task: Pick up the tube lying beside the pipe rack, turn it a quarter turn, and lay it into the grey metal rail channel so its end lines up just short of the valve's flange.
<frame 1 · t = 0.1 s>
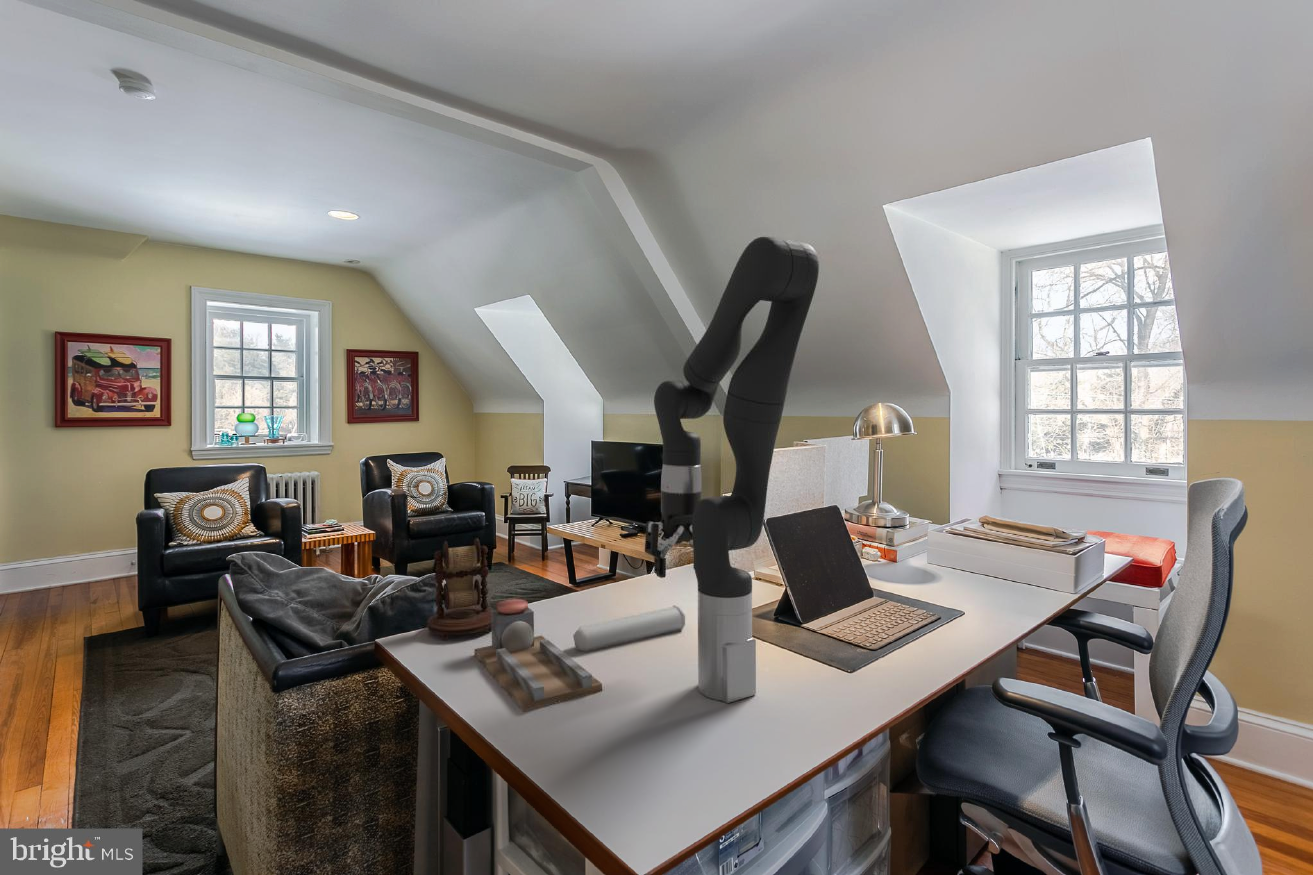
hand: (679, 573, 121), 17 cm above the table, tool pointing down, fingers open, 8 cm apart
pipe rack: (533, 671, 118), on the table
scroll: (463, 630, 141), on the table
tube: (629, 641, 135), on the table
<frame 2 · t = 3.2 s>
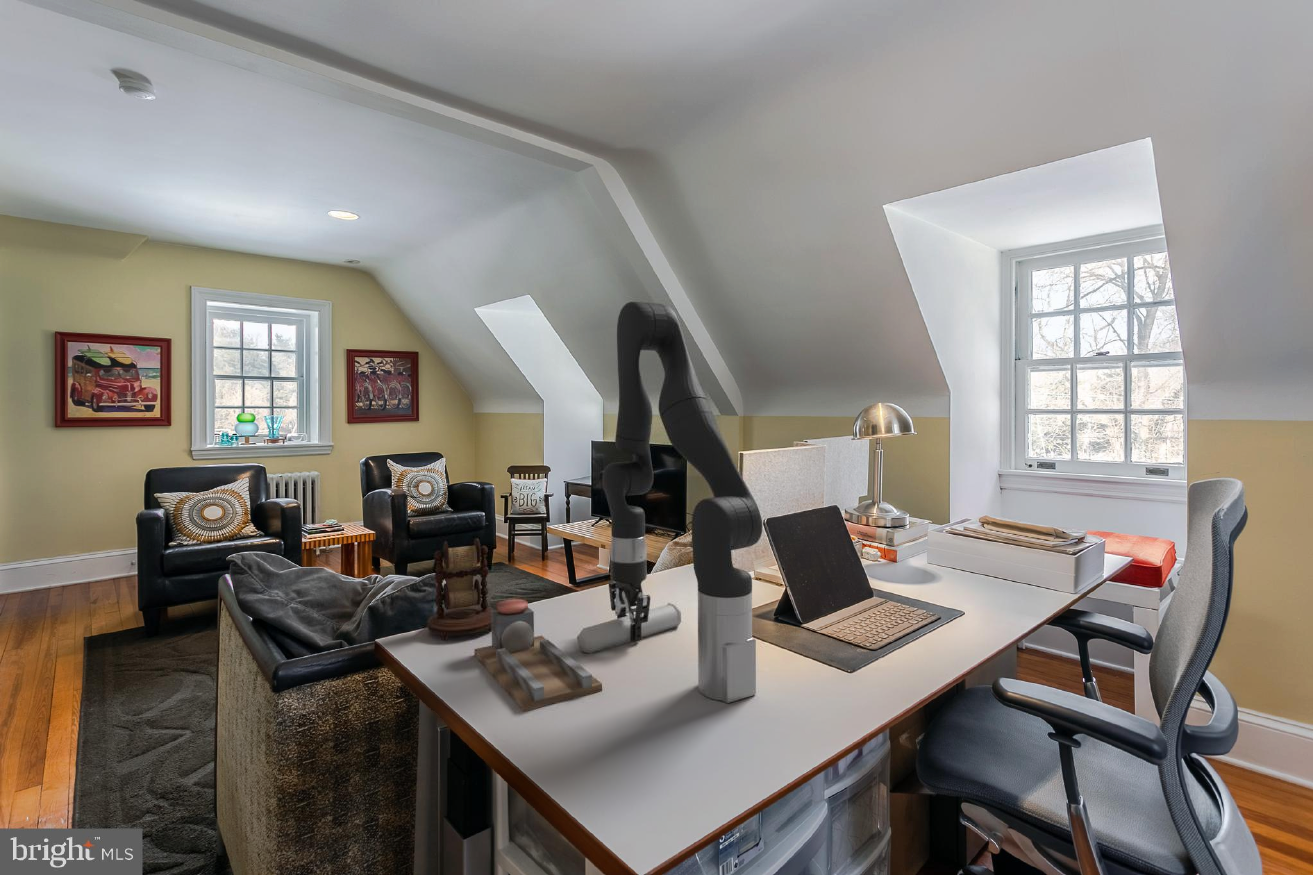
hand: (629, 636, 135), 0 cm above the table, tool pointing down, fingers closed on tube, 5 cm apart
tube: (629, 640, 135), on the table, touching gripper
everything else where it was.
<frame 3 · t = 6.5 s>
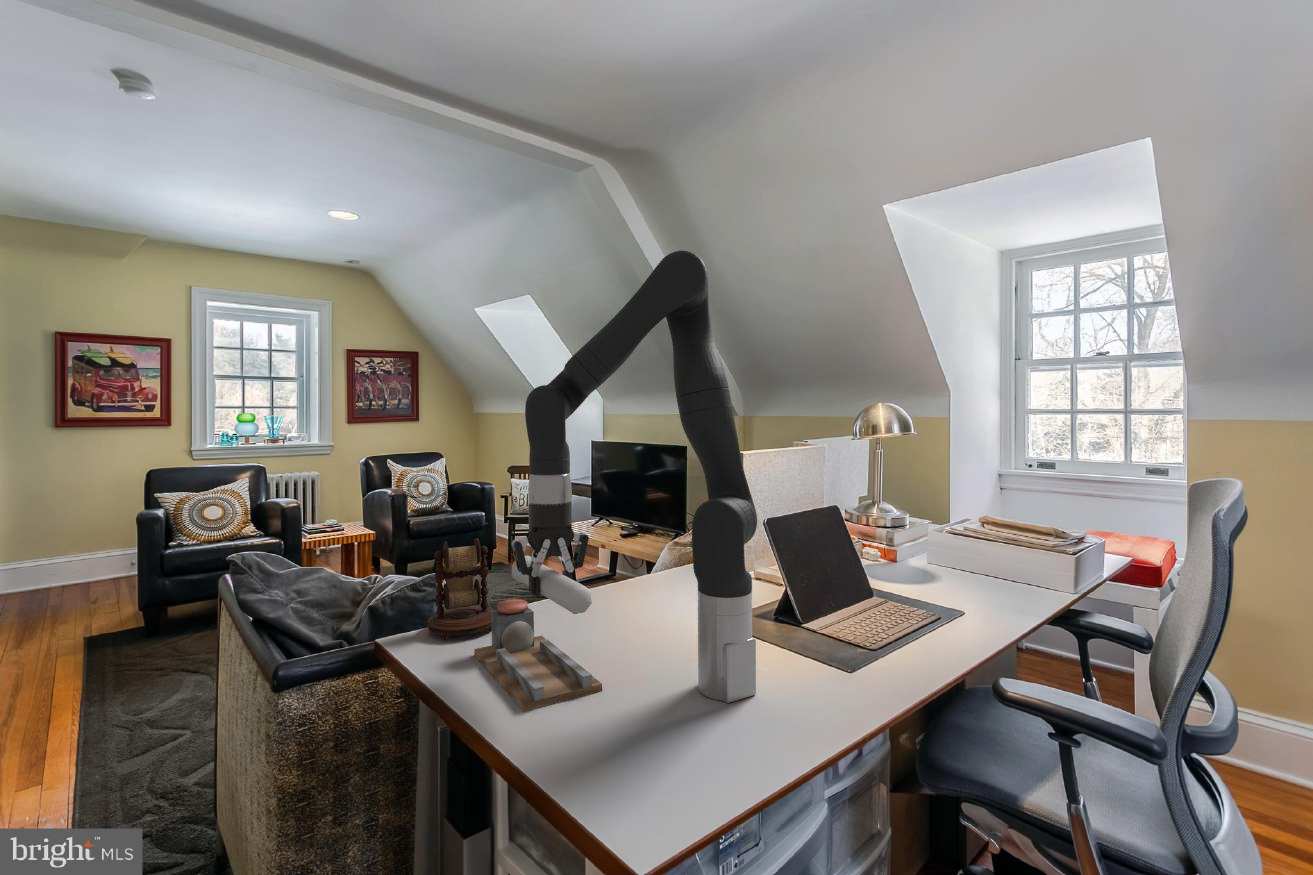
hand: (551, 593, 114), 16 cm above the table, tool pointing down, fingers closed on tube, 5 cm apart
tube: (551, 598, 114), point 15 cm above the table, touching gripper
everything else where it was.
when the fingers open (4 cm above the table, at t = 9.7 s): tube drops 2 cm, resting on pipe rack.
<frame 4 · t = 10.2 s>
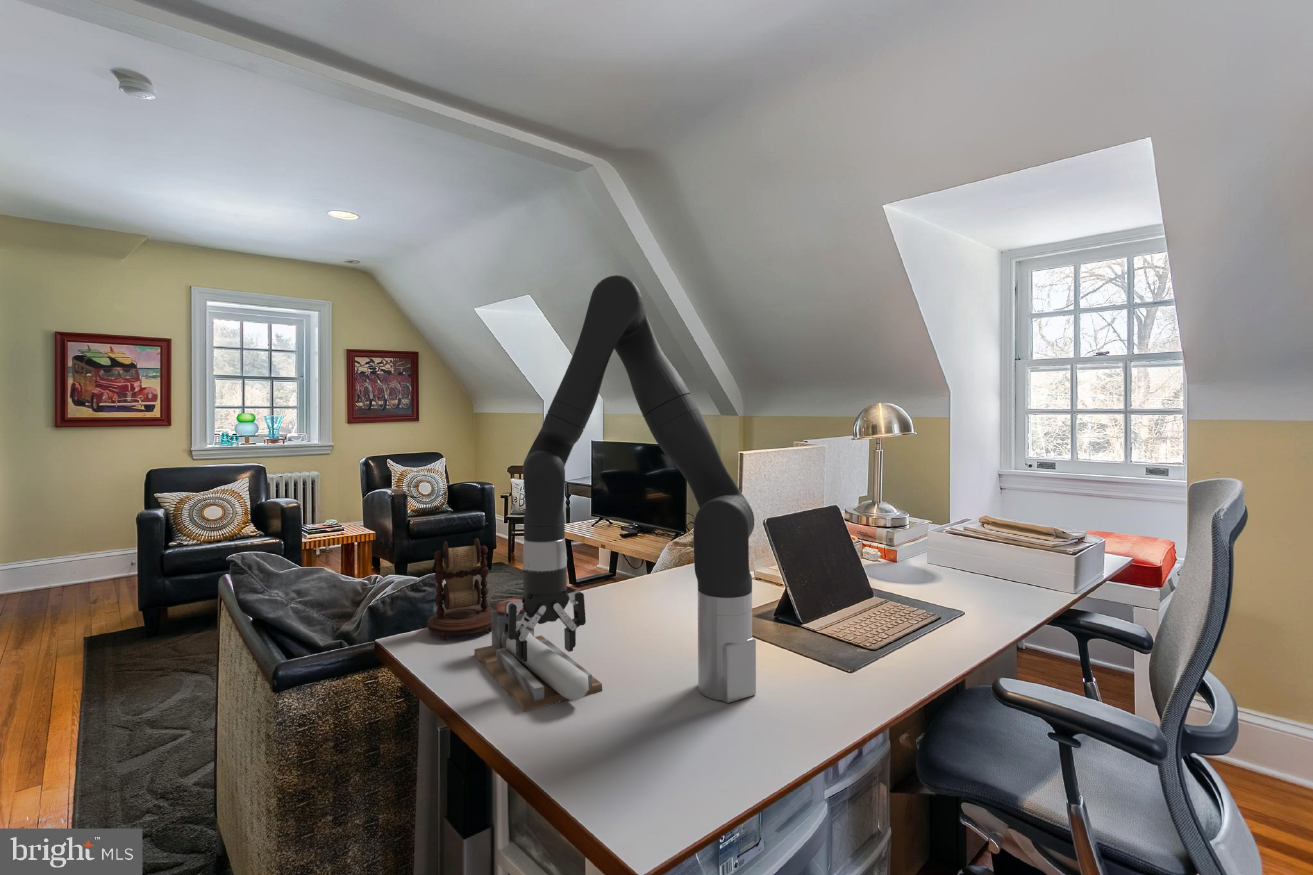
hand: (546, 655, 113), 5 cm above the table, tool pointing down, fingers open, 8 cm apart
tube: (547, 678, 113), point 1 cm above the table, touching pipe rack
everything else where it was.
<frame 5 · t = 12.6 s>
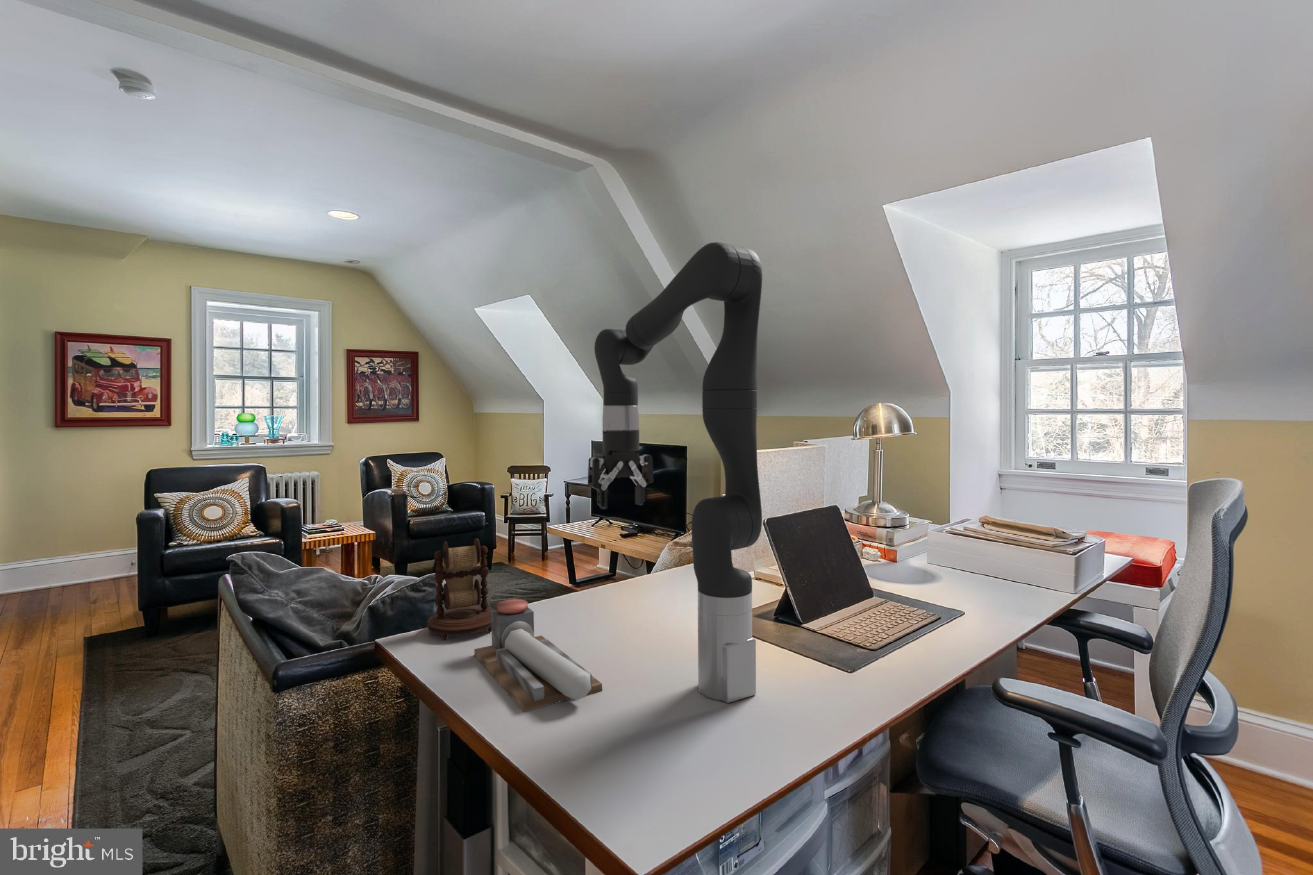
hand: (621, 506, 132), 28 cm above the table, tool pointing down, fingers open, 8 cm apart
nothing on the table moved.
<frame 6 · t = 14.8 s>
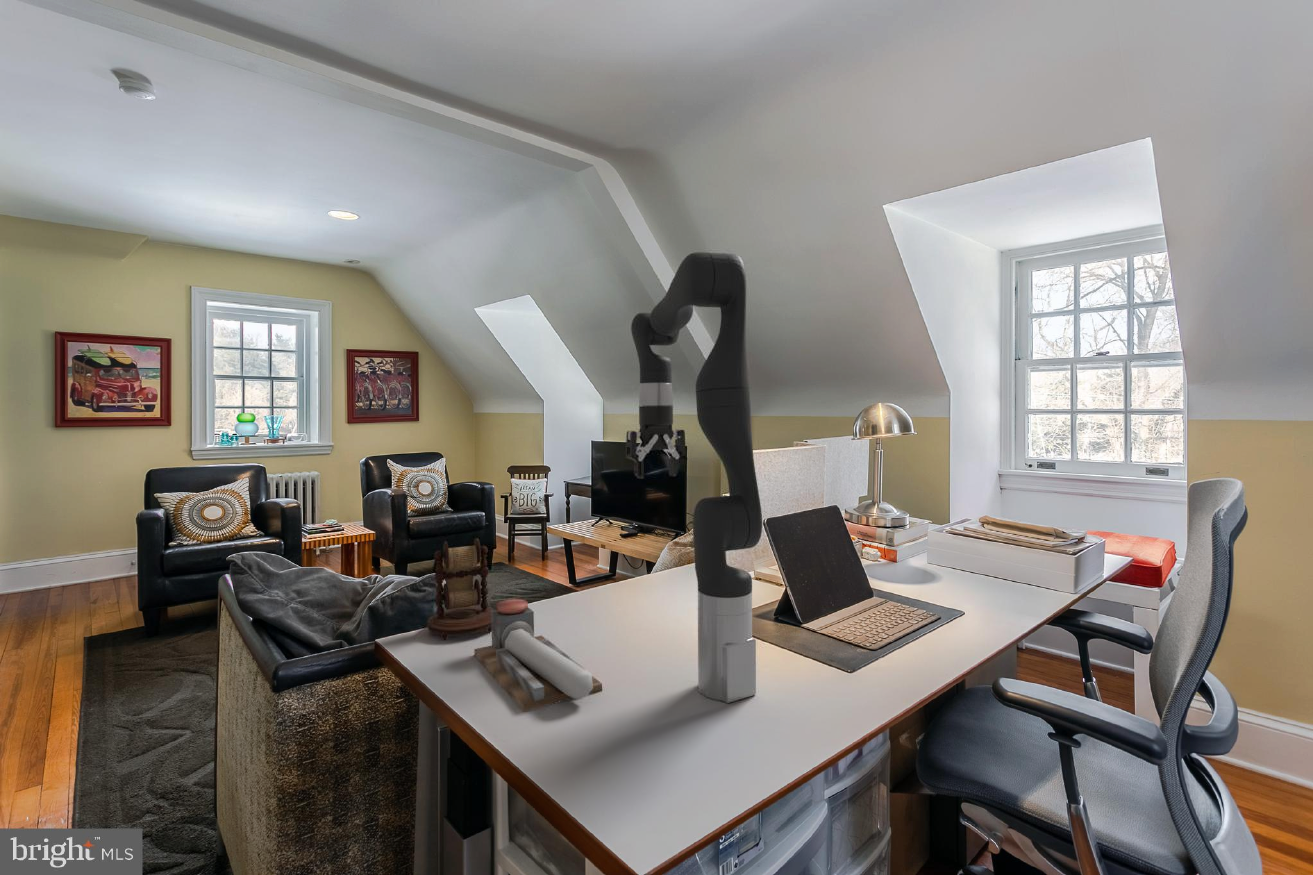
hand: (656, 477, 143), 33 cm above the table, tool pointing down, fingers open, 8 cm apart
nothing on the table moved.
at the end: tube 0.4 cm from the target spot on the pipe rack, point 1.0 cm above the pipe rack's base; the gripper is holding nothing; tube touching pipe rack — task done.
